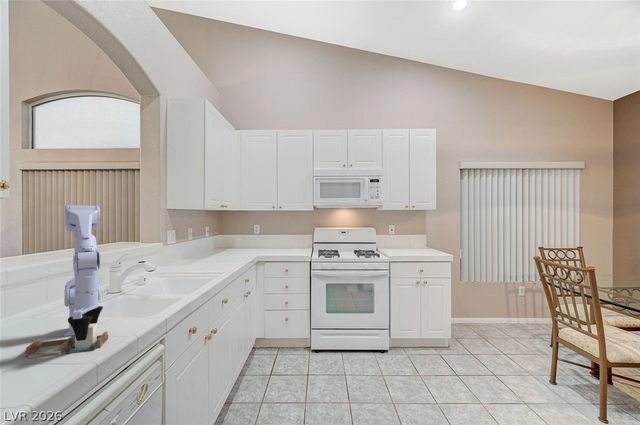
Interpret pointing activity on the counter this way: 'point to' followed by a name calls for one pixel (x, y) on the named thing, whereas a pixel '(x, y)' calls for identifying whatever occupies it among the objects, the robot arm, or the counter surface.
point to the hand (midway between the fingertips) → (86, 335)
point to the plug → (88, 337)
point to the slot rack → (66, 346)
